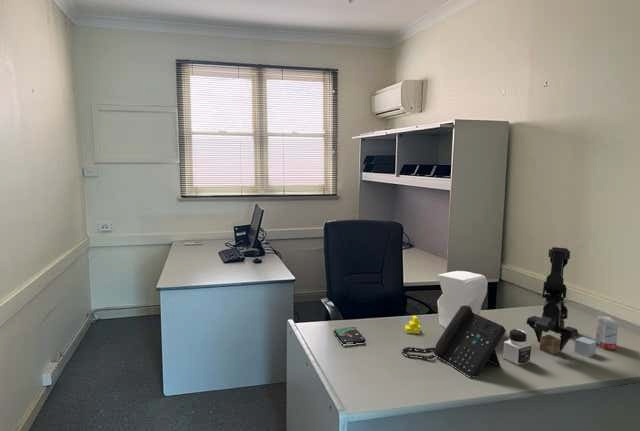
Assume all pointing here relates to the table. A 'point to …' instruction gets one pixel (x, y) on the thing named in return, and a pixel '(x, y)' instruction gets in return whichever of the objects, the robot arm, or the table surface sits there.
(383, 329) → the table surface
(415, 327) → the yellow ball pyramid
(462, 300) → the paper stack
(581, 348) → the painted cube
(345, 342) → the disk drive
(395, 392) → the table surface
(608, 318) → the ink box
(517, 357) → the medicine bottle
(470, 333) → the office phone
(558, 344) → the walnut cube
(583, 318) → the table surface
